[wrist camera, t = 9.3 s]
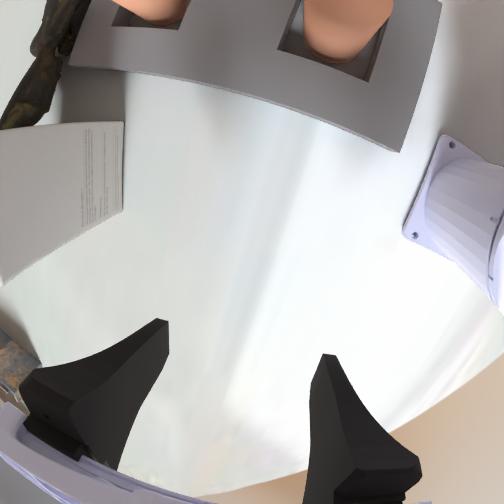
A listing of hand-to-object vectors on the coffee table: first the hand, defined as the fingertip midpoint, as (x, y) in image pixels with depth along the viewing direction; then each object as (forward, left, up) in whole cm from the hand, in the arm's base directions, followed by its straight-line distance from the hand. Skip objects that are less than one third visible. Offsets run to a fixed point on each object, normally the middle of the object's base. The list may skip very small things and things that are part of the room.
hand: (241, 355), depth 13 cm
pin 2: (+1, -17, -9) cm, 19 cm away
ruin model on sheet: (+30, +28, -10) cm, 42 cm away
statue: (+22, -14, -10) cm, 28 cm away
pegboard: (+7, -17, -9) cm, 21 cm away
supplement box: (+16, -3, -10) cm, 19 cm away
